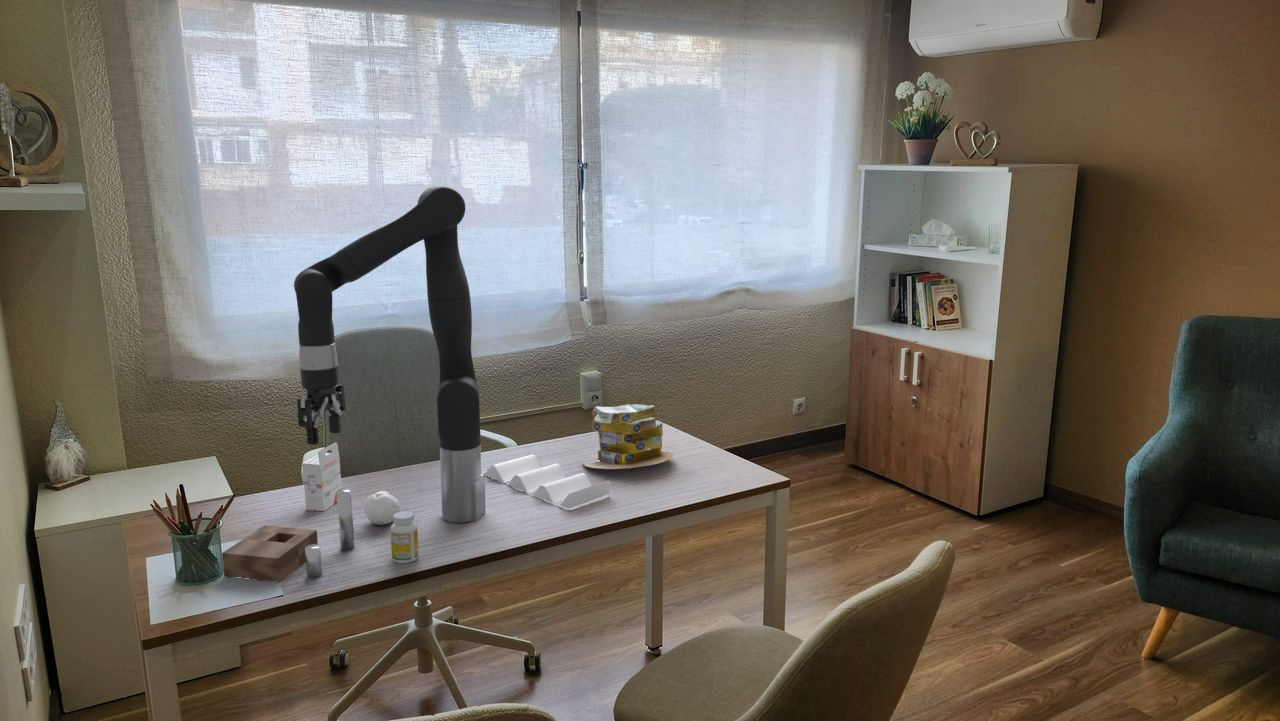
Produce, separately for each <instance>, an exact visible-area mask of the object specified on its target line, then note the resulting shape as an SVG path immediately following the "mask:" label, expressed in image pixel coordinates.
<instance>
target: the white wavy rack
mask: <svg viewBox="0 0 1280 721" xmlns="http://www.w3.org/2000/svg"><path fill="white" fill-rule="evenodd" d="M484 475H487V476H489V477H492V478H494V479H496V480H499V481H501V482H504V483H505V482H507V481H510V480H511V481H510V482H509V483H508V484H509V485H511V486H513V487H515V488H518V489H520V490H523V491H525V492H528V493H529V492H533V491H535V490H536V491H535V493H534V494H533V495H535V496H538V497H540V498H542V499H545V500H547V501H550V502H553V503H555V502H558V501H560V500H563V499H565V500H564V501H563V502H562V503H561V504H559V505H561V506H563V507H566V508H568V509H569V508H572V507H574V506H577V505H580V504H583V503H586V502H589V501H591V500H594V499H597V498H599V497H602V496H604V495H607V494H610V493H611V486H610V483H611V481H610V480H607V481H603V482H600V483H597V484H595V485H592V483H591V481H590V480H589V478H588V476H587V475H586V473H584V472H582V473H578V474H574V475H571V476H568V477H567V476H566V474H565V472H564V470H563V469H562V467H561V465H560V464H559V463H553V464H550V465H545V466H542V465H541V463H540V461H539V460H538V458H537V456H536V455H535V454H529V455H525V456H521V457H518V458H514V459H511V460H507V461H503V462H499V463H497V464H492V465H490V466H489V468H488V469H487V470H486V472H485V474H484ZM487 476H486V477H487ZM489 477H488V478H489ZM492 478H491V479H492ZM494 479H493V480H494ZM496 480H495V481H496ZM499 481H498V482H499ZM501 482H500V483H501ZM513 487H512V488H513ZM515 488H514V489H515ZM520 490H519V491H520Z"/></svg>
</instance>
